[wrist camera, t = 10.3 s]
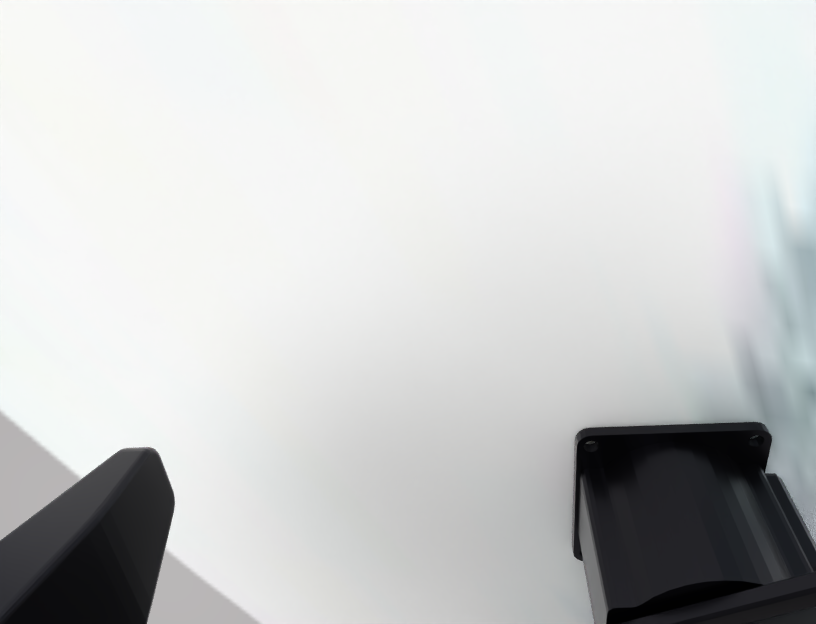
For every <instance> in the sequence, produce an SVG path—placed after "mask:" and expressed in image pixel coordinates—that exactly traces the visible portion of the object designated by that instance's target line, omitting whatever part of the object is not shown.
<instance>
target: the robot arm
mask: <svg viewBox="0 0 816 624" xmlns="http://www.w3.org/2000/svg"><path fill="white" fill-rule="evenodd" d="M757 435H759V436H758V437H756V438H753V439H750V438H752V437H753V436H757ZM588 441H596V442H594V443H592V444H586V443H587V442H588ZM771 442H772V436H771V434H770V433H769V431H768V429H767V427H766V426H765V425H764V424H762V423H758V422H743V423H714V424H685V425H656V426H628V427H599V428H586V429H583V430H581V431H579V433H578V434H577V435H576V438H575V461H574V495H573V529H572V547H573V553H574V556H575V557H576V558H577V559H578V560H581V561H583V562H584V568H585V573H586V579H587V584H588V590H589V596H590V601H591V607H592V613H593V618H594V624H816V544H815V542H814V540H813V538H812V536H811V534H810V532H809V530H808V529H807V527H806V525H805V523H804V521H803V519H802V517H801V515H800V513H799V511H798V510H797V508H796V506H795V504H794V502H793V500H792V498H791V496H790V494H789V492H788V491H787V489H786V487H785V485H784V483H783V481H782V479H781V478H779V477H778V476H777V475H776V474H765V469H766V465H767V460H768V456H769V451H770V447H771ZM174 506H175V498H174V493H173V489H172V487H171V484H170V481H169V479H168V476H167V473H166V471H165V468H164V466H163V463H162V460H161V458H160V455H159V453H158V452H157V451H156V450H155V449H154V448H150V447H139V448H125V449H122V450H120V451H118V452H117V453H115V454H114V455H113V456H111V457H110V458H109V459H107V460H106V461H105V462H103V463H102V464H101V465H99V466H98V467H97V468H95V469H94V470H93V471H91V472H90V473H89V474H88V475H86V476H85V477H84V478H82V479H81V480H80V481H79V482H77V483H76V484H74V485H73V486H72V487H70V488H69V489H68V490H66V491H65V492H64V493H62V494H61V495H60V496H59V497H57V498H56V499H55V500H53V501H52V502H51V503H50V504H48V505H47V506H46V507H44V508H43V509H41V510H40V511H39V512H37V513H36V514H35V515H33V516H32V517H31V518H29V519H28V520H27V521H26V522H24V523H23V524H22V525H20V526H19V527H18V528H16V529H15V530H14V531H12V532H11V533H10V534H8V535H7V536H6V537H4V538H3V539H2V540H1V541H0V624H147V621H148V617H149V613H150V609H151V606H152V602H153V598H154V593H155V589H156V584H157V581H158V577H159V572H160V568H161V563H162V560H163V555H164V551H165V547H166V543H167V538H168V534H169V530H170V526H171V521H172V517H173V513H174Z"/></svg>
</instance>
